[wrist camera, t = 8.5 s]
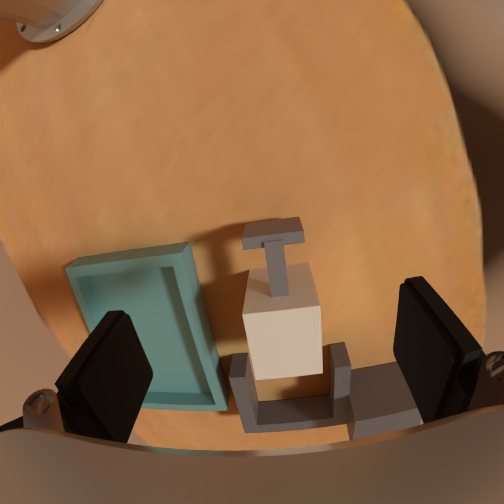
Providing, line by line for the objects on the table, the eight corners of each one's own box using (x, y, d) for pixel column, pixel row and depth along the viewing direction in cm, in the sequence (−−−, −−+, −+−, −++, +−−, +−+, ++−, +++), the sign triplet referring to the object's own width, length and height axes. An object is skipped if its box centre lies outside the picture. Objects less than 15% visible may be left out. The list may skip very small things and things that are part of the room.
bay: (232, 353, 30) (223, 406, 23) (409, 330, 28) (435, 376, 21) (247, 410, 33) (242, 458, 26) (398, 390, 31) (415, 434, 24)
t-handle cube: (240, 219, 25) (229, 250, 18) (303, 211, 24) (315, 240, 18) (259, 327, 28) (255, 379, 22) (313, 321, 28) (322, 373, 21)
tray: (78, 257, 27) (64, 268, 25) (189, 241, 26) (181, 252, 23) (135, 392, 33) (128, 406, 31) (229, 394, 32) (227, 410, 29)
